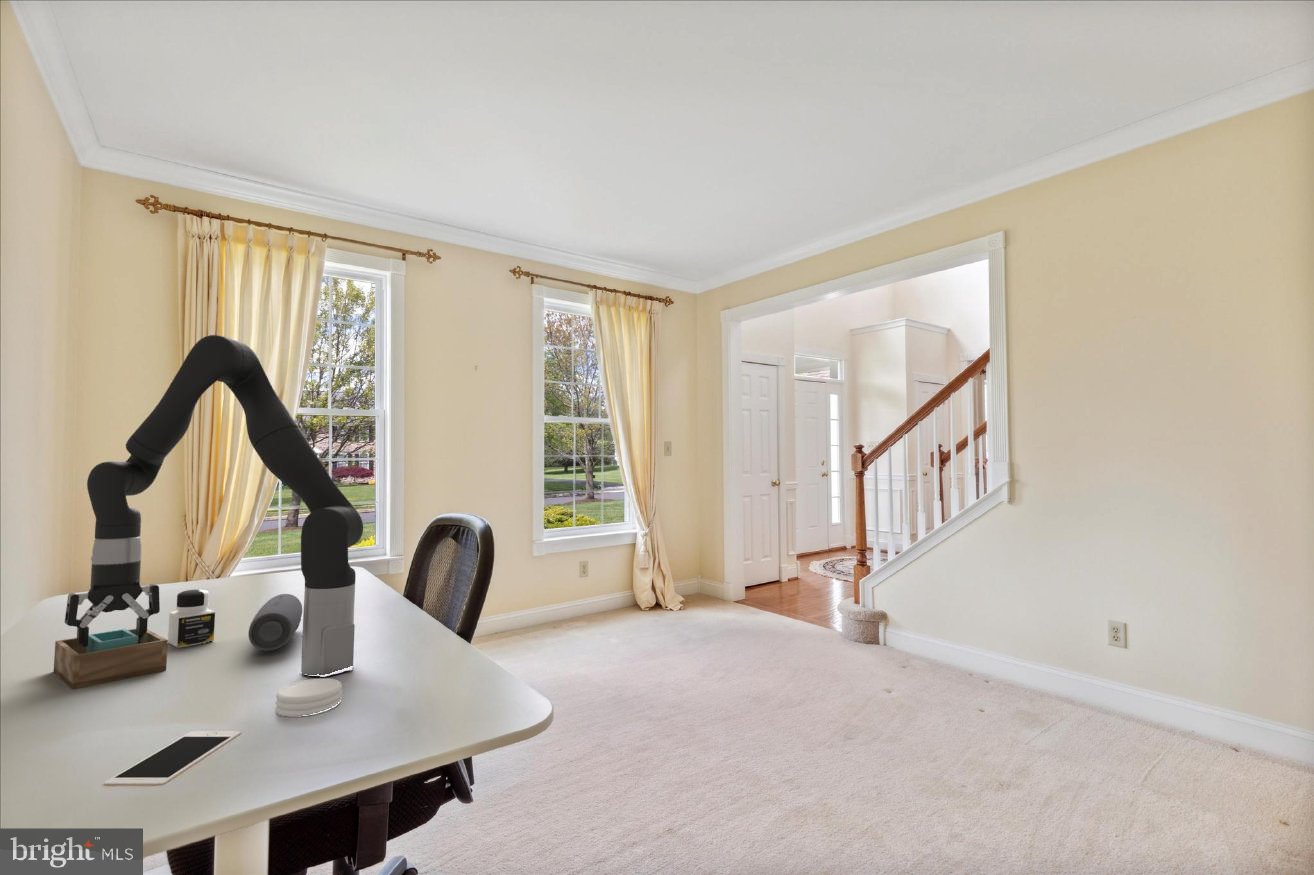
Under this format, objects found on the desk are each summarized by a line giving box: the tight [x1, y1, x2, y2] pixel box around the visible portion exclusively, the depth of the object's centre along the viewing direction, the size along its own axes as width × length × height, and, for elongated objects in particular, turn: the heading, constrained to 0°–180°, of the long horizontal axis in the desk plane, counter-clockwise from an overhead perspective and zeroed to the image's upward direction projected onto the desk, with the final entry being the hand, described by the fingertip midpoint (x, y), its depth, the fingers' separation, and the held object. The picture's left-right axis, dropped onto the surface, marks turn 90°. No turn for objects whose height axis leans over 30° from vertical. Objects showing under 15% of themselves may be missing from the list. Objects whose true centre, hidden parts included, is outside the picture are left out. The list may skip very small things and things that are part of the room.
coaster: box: [274, 677, 343, 718], centre depth 107 cm, size 10×10×4 cm
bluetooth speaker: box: [247, 593, 303, 652], centre depth 145 cm, size 23×9×10 cm, turn 25°
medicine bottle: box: [167, 588, 216, 649], centre depth 145 cm, size 7×7×12 cm
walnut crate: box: [53, 628, 169, 690], centre depth 124 cm, size 16×14×6 cm
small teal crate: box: [86, 628, 138, 653], centre depth 124 cm, size 9×6×6 cm, turn 54°
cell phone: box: [103, 730, 242, 786], centre depth 88 cm, size 8×16×1 cm, turn 2°
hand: (112, 641), depth 125 cm, fingers open, 8 cm apart
